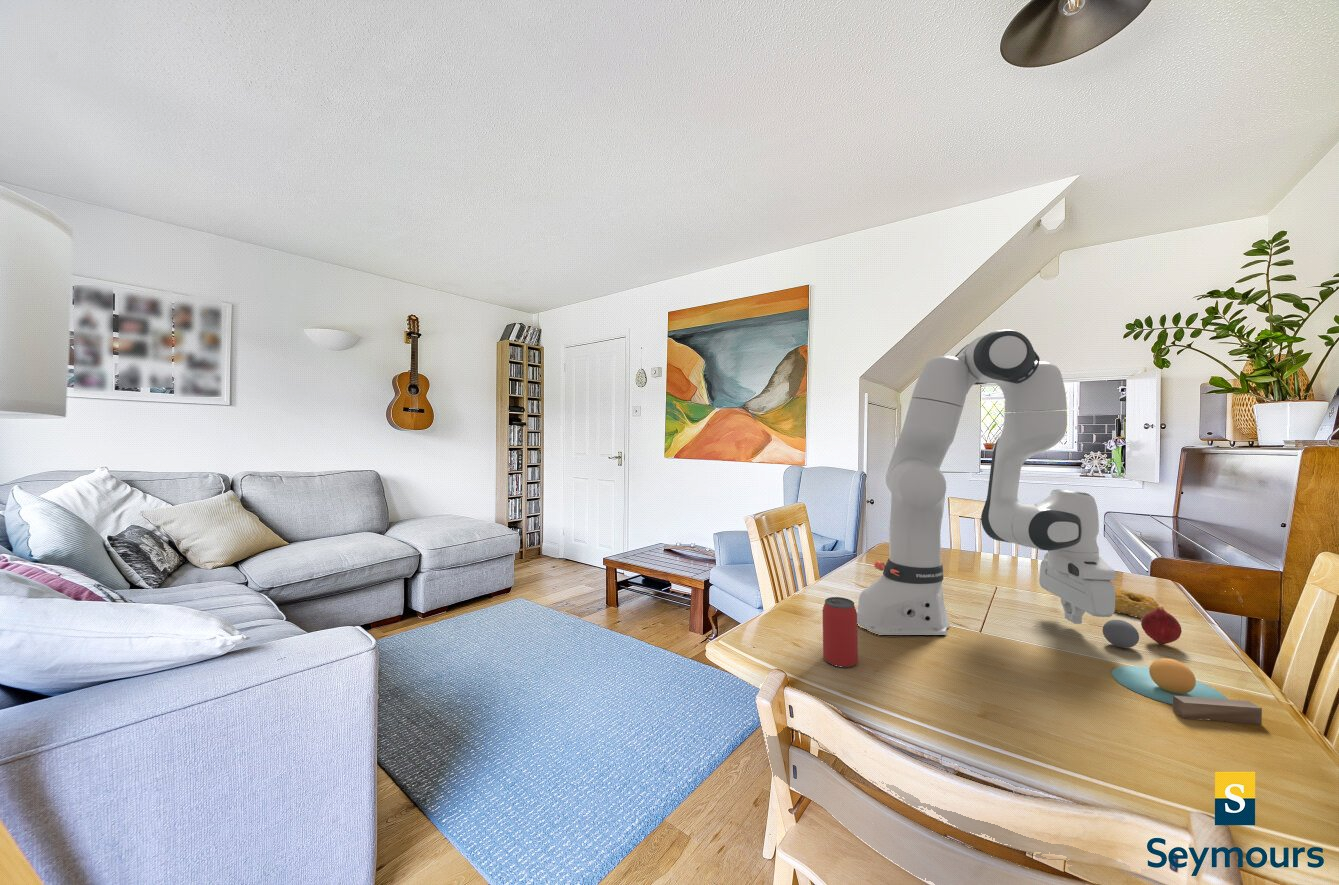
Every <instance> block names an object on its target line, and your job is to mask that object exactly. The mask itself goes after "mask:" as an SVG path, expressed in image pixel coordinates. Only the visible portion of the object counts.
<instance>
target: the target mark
mask: <svg viewBox="0 0 1339 885" xmlns="http://www.w3.org/2000/svg"><path fill="white" fill-rule="evenodd" d="M1149 668H1150V667H1147V666H1146V667H1145V666H1138V665H1137V666H1134V665H1124V666H1118V667H1115V668H1114V669H1113V670H1112V671H1111V675H1112V677H1113V678H1114V680H1115V681H1116V682H1117V683H1119V684H1120V685H1121V686H1123V687H1125V688H1126V689H1128V690H1131V691H1132V692H1134V693H1137V694H1140V695H1141V696H1144V697H1147V698H1150V699H1152V700H1155V701H1158V702H1161V703H1165V704H1169V705H1172V706H1173V696H1186V697H1200V698H1214V699H1228V698H1227V697H1226V696H1225V695H1224V694H1223V693H1222V692H1220V691H1218V690H1217V689H1215V688H1213V687H1211V686H1209V685H1207V684H1205V683H1203V682H1201V681H1199V680H1196V685H1195V687H1194V689H1193V690H1192V691H1190V692H1188V693H1185V694H1175V693H1171V692H1168V691H1166V690H1164V689H1162V688H1160V687H1159V686H1158V685H1157V684H1156V683H1155V682H1154V681H1153V680H1152V678H1151V676H1150V673H1149Z"/></svg>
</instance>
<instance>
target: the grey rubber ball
mask: <svg viewBox="0 0 1339 885" xmlns="http://www.w3.org/2000/svg"><path fill="white" fill-rule="evenodd" d="M1102 635H1103V636H1104V638H1105V640H1106V641H1108V643H1109V644H1111V645H1113V646H1115V647H1118V648H1121V649H1129V648H1130V649H1131V648H1133V647H1134V646H1137V644H1138V643H1139V640H1140V635H1139V632H1138V630H1137V629H1136V627H1135V626H1134V625H1133V624H1132V623H1129V622H1127V621H1125V620H1123V619H1110V620H1108V621H1106V622H1105V623H1104V624H1103V626H1102Z"/></svg>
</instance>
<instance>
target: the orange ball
mask: <svg viewBox="0 0 1339 885" xmlns="http://www.w3.org/2000/svg"><path fill="white" fill-rule="evenodd" d="M1148 668H1149V673H1150V676H1151V678H1152V680H1153V681H1154V682H1155V683H1156V684H1157V685H1158V686H1159V687H1160V688H1162V689H1164V690H1166V691H1168V692H1171V693H1175V694H1185V693H1188V692H1190V691H1192V690H1193V689H1194V687H1195V685H1196V681H1197V679H1196V677H1195V674H1194V672H1193V671H1192V670H1191V669H1190V668H1189V666H1187V665H1186V664H1184V663H1183V662H1180V661H1179V660H1176V659H1173V658H1165V657H1164V658H1159V659H1158V658H1157V659H1155V660H1154V661H1152V662H1151V663H1150V666H1149V667H1148Z"/></svg>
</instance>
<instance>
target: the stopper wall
mask: <svg viewBox="0 0 1339 885" xmlns="http://www.w3.org/2000/svg"><path fill="white" fill-rule="evenodd" d="M1262 709H1263V708H1262V707H1260V706H1258V704H1255V703H1253V702H1251V701H1249V700H1244V699H1243V700H1240V699H1229V698H1227V699H1214V698H1200V697H1186V696H1173V705H1172V711H1173V713H1175V714H1177V715H1179V716H1180V717H1182V718H1183V719H1184V720H1185V719H1187V720H1198V719H1210V720H1209V721H1211V720H1219V721H1218V722H1224V721H1225V722H1227V723H1238V724H1239V723H1240V724H1251V725H1252V724H1253V725H1263V721H1262V720H1263V718H1262V717H1263V710H1262ZM1225 722H1224V723H1225Z"/></svg>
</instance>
